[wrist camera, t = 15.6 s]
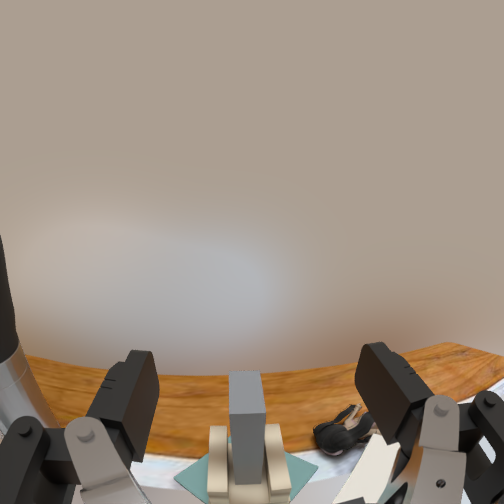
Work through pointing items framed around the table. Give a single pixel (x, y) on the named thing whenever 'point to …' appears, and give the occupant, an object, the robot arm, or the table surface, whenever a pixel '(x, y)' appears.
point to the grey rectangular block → (247, 425)
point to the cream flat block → (370, 472)
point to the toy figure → (345, 431)
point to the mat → (198, 476)
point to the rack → (253, 495)
